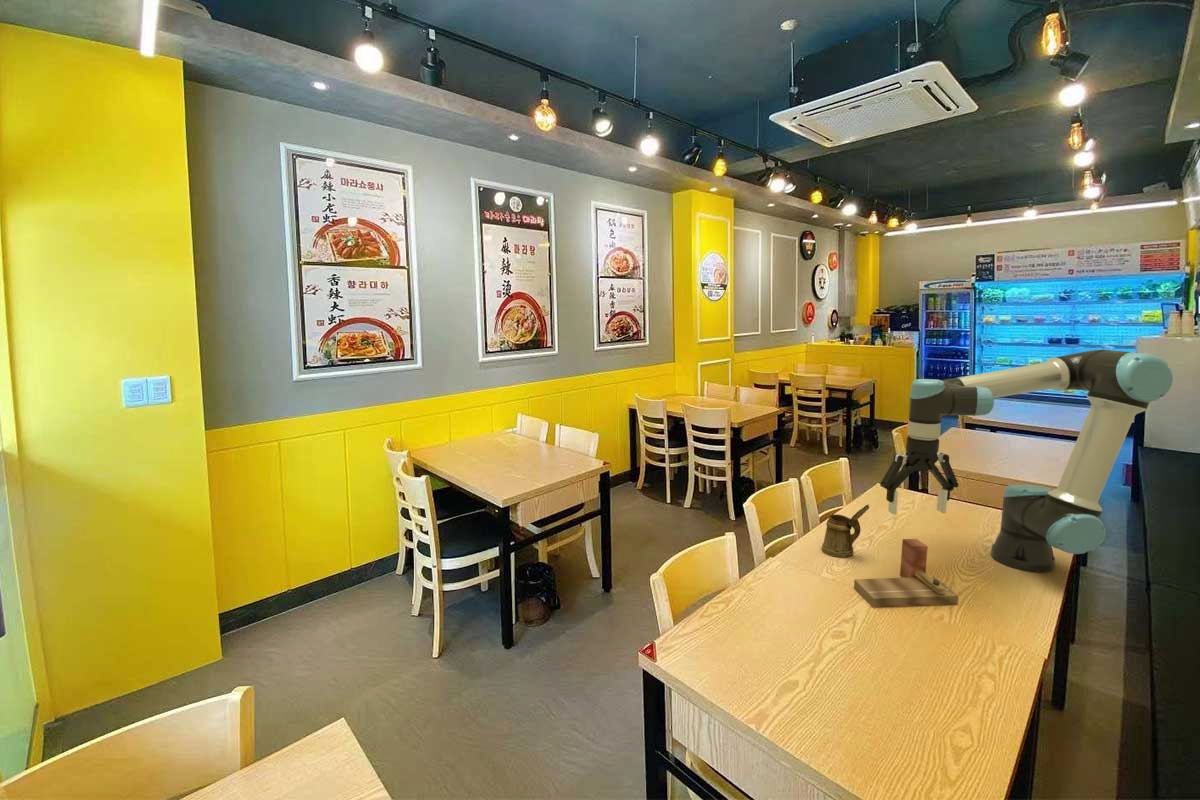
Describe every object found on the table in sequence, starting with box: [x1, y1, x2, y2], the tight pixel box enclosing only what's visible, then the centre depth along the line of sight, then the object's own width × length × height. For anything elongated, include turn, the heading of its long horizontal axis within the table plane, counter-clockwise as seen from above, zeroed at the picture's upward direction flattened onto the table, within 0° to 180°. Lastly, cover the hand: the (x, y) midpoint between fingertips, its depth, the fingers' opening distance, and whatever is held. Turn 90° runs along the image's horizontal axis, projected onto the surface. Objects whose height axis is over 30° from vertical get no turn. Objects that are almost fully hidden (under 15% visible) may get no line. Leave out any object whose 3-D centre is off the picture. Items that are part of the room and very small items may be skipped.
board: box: [853, 576, 959, 608], centre depth 143 cm, size 22×10×3 cm, turn 91°
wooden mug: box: [821, 504, 870, 558], centre depth 167 cm, size 9×14×18 cm, turn 37°
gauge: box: [899, 538, 946, 594], centre depth 145 cm, size 4×15×11 cm, turn 1°
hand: (916, 512), depth 148 cm, fingers open, 13 cm apart
